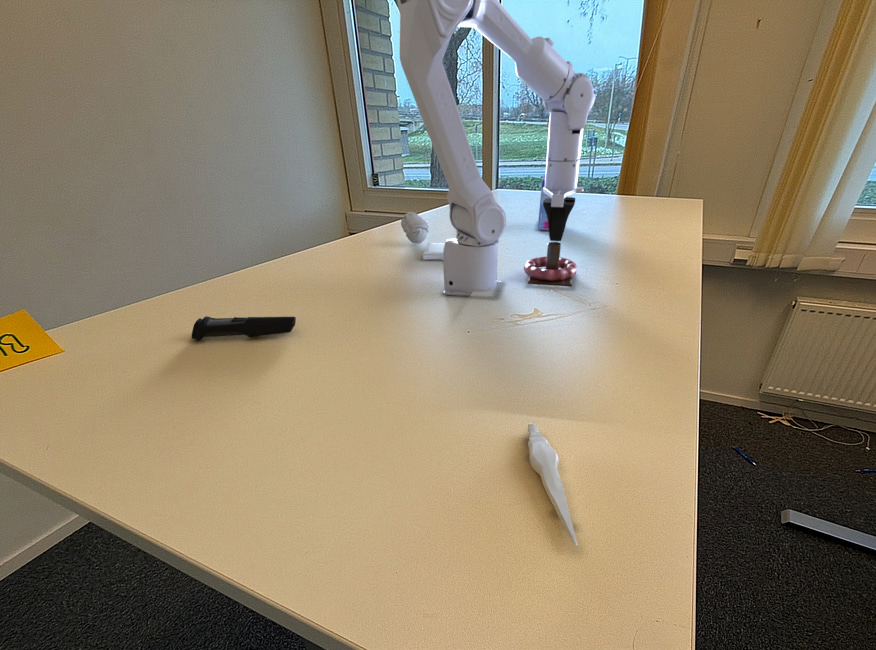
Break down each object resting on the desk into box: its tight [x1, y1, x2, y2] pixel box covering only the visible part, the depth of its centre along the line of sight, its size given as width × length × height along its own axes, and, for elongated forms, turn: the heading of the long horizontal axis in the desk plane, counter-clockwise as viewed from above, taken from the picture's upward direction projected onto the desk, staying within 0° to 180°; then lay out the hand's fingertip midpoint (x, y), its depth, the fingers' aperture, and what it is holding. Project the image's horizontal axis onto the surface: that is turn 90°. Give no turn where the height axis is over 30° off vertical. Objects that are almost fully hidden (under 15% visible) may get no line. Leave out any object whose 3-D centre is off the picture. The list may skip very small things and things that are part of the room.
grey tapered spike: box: [527, 422, 579, 547], centre depth 40 cm, size 15×3×2 cm, turn 7°
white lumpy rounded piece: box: [400, 211, 430, 245], centre depth 105 cm, size 6×7×7 cm
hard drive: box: [422, 242, 445, 261], centre depth 99 cm, size 2×8×12 cm
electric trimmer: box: [191, 315, 297, 341], centre depth 66 cm, size 4×16×3 cm, turn 91°
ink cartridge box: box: [537, 173, 551, 231], centre depth 114 cm, size 10×6×14 cm, turn 170°
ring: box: [523, 255, 578, 281], centre depth 84 cm, size 10×10×2 cm
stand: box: [527, 241, 574, 288], centre depth 82 cm, size 8×8×7 cm
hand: (555, 240), depth 84 cm, fingers closed
